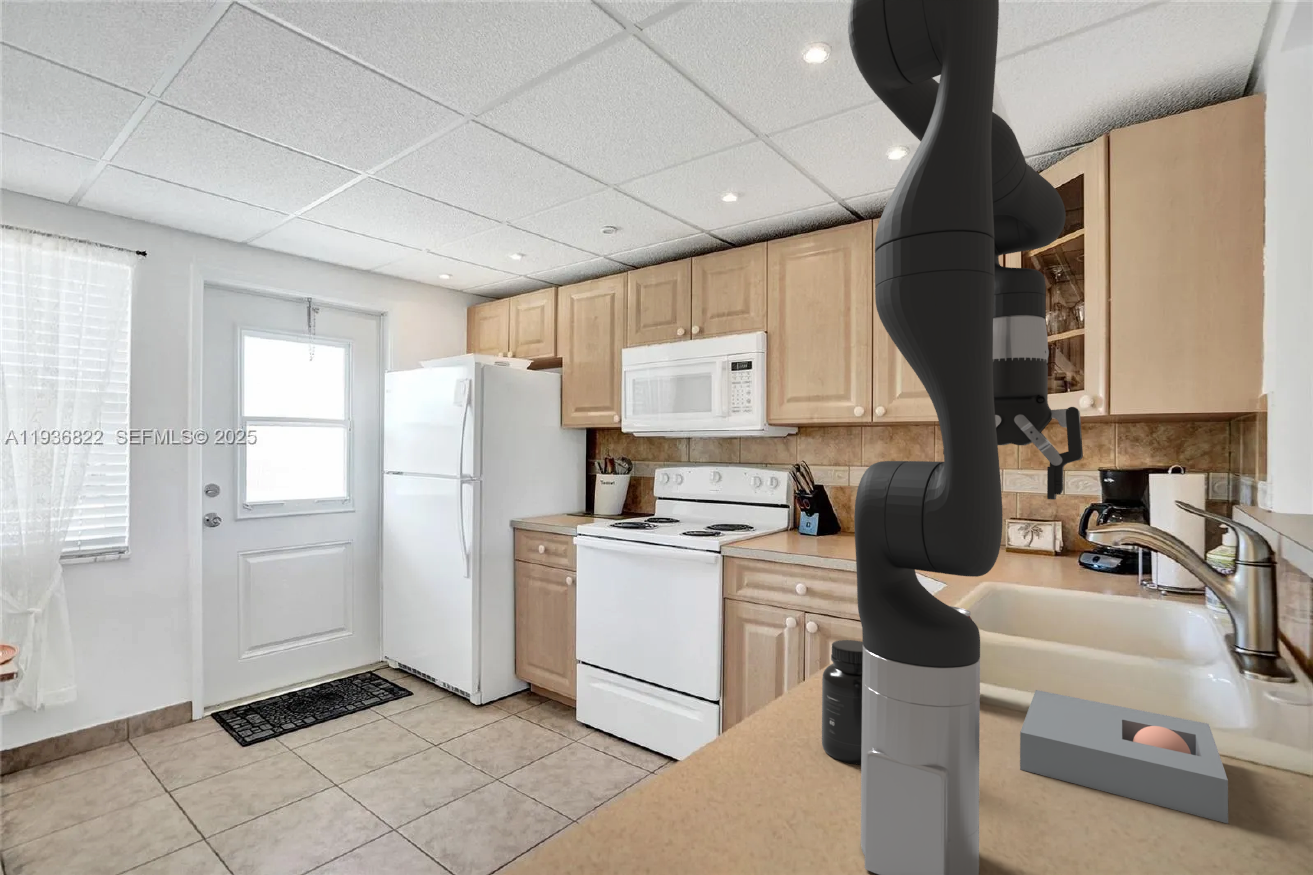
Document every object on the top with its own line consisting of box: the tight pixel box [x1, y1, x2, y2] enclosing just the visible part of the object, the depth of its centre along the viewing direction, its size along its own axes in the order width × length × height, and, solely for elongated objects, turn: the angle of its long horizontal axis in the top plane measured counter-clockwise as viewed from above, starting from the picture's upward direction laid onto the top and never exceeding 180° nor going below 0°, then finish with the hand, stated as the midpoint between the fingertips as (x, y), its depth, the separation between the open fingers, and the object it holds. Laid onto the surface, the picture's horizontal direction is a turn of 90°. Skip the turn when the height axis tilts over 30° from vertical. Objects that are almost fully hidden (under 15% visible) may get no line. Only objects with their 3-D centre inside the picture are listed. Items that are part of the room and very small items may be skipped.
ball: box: [1133, 726, 1191, 754], centre depth 70 cm, size 5×5×5 cm
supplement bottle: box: [821, 639, 863, 765], centre depth 74 cm, size 7×7×12 cm
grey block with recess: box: [1019, 689, 1229, 824], centre depth 72 cm, size 16×17×4 cm
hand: (1009, 497), depth 76 cm, fingers open, 8 cm apart
